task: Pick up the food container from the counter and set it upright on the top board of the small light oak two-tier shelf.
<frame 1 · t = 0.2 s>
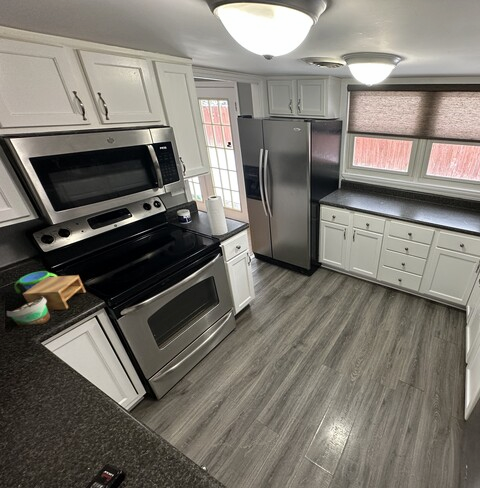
shelf: (60, 300, 130), on the worktop
snack cup: (43, 293, 135), on the worktop
food container: (39, 323, 116), on the worktop
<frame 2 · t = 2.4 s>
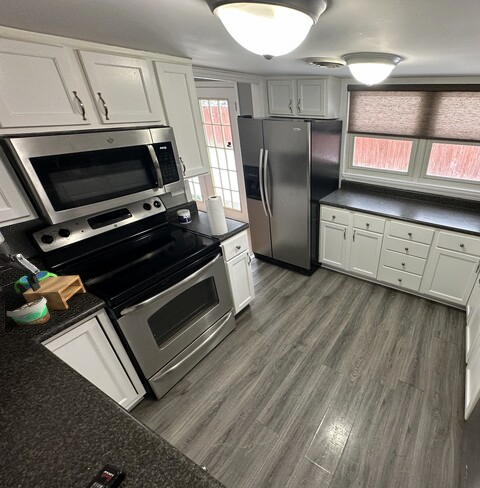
hand: (18, 290, 107), 18 cm above the worktop, tool pointing down, fingers open, 13 cm apart
nothing on the worktop moved.
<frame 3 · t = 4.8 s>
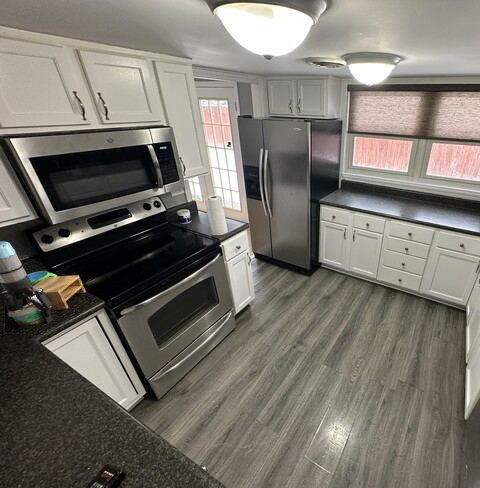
hand: (39, 322, 116), 0 cm above the worktop, tool pointing down, fingers open, 7 cm apart
food container: (40, 323, 116), on the worktop, touching gripper
everything else where it was.
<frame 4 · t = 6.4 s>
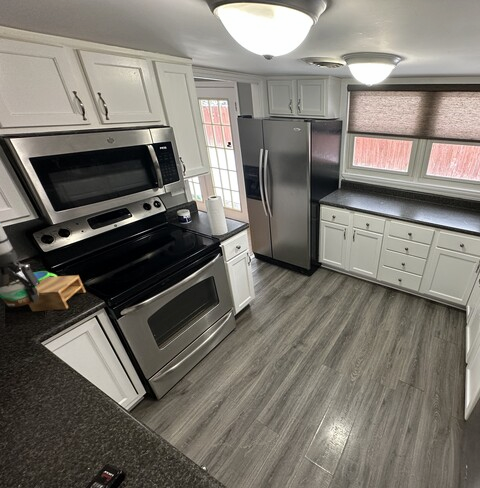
hand: (25, 300, 110), 12 cm above the worktop, tool pointing down, fingers closed on food container, 7 cm apart
food container: (28, 301, 111), point 12 cm above the worktop, touching gripper
everything else where it was.
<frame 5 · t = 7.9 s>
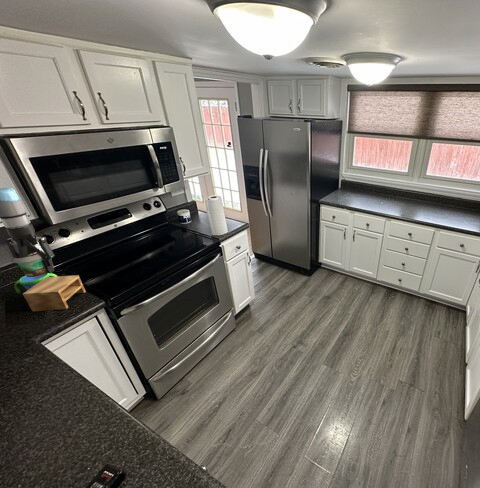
hand: (42, 272, 120), 18 cm above the worktop, tool pointing down, fingers closed on food container, 7 cm apart
food container: (44, 272, 120), point 17 cm above the worktop, touching gripper
everything else where it was.
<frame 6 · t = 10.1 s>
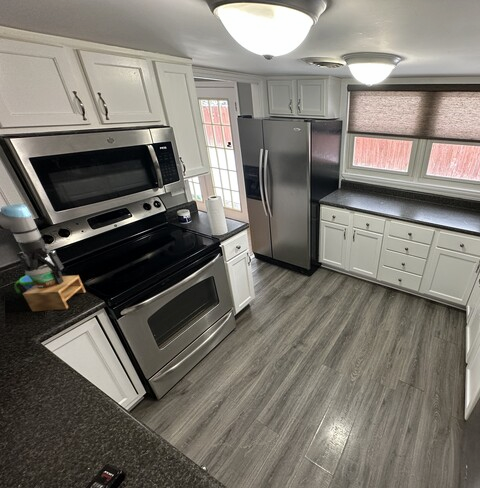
hand: (52, 283, 125), 10 cm above the worktop, tool pointing down, fingers closed on food container, 7 cm apart
food container: (54, 284, 125), point 10 cm above the worktop, touching gripper, shelf
everything else where it was.
when the fingers open (10 cm above the worktop, at t = 10.1 s): food container stays where it is, resting on shelf.
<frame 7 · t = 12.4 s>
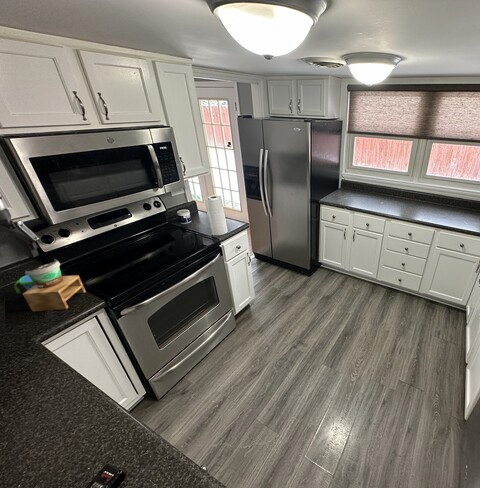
hand: (17, 256, 114), 27 cm above the worktop, tool pointing down, fingers open, 13 cm apart
food container: (54, 284, 125), point 10 cm above the worktop, touching shelf
everything else where it was.
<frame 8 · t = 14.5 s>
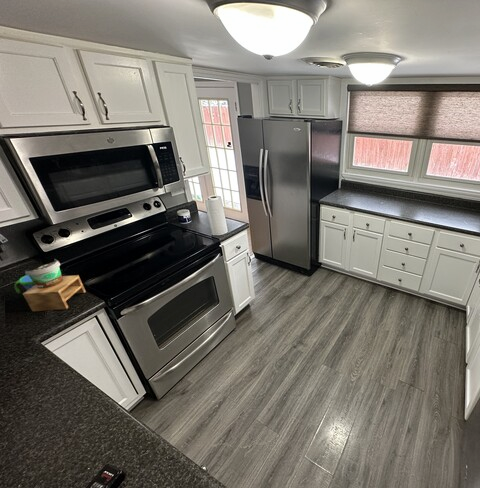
nothing on the worktop moved.
at the end: food container inside the target area on the shelf (0.9 cm from its centre), point 9.8 cm above the shelf's base; food container tilted 0° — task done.
